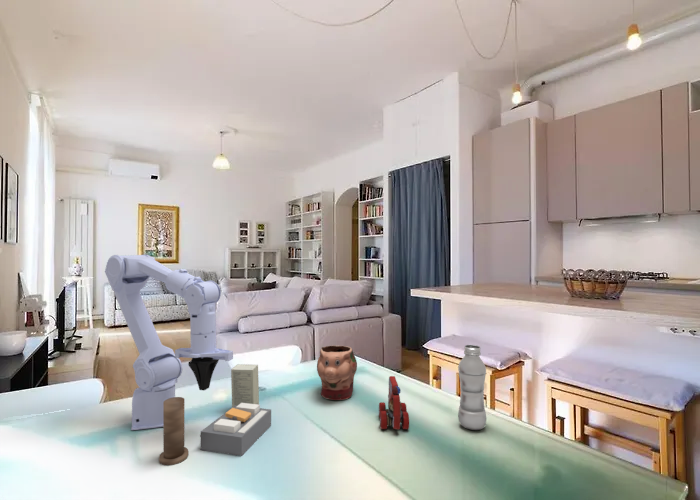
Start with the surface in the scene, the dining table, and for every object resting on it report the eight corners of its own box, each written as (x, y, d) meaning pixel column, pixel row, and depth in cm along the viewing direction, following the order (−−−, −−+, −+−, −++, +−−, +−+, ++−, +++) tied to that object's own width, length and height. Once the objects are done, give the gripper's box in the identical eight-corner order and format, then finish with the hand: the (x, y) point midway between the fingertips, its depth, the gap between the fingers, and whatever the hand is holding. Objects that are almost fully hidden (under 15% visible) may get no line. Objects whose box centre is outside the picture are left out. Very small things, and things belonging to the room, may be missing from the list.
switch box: (200, 449, 81) (200, 425, 81) (235, 420, 95) (235, 399, 95) (241, 456, 79) (241, 430, 79) (271, 425, 92) (271, 403, 92)
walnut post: (156, 467, 75) (156, 407, 75) (162, 452, 80) (162, 397, 80) (186, 463, 76) (186, 404, 76) (190, 448, 82) (190, 394, 82)
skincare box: (259, 408, 102) (259, 364, 102) (253, 415, 98) (253, 369, 98) (237, 407, 103) (237, 363, 103) (230, 414, 98) (230, 368, 98)
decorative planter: (321, 380, 124) (321, 338, 124) (357, 381, 123) (357, 339, 123) (312, 406, 104) (312, 356, 104) (356, 407, 103) (356, 357, 103)
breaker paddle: (224, 419, 86) (225, 413, 86) (231, 413, 89) (232, 407, 89) (243, 425, 85) (244, 418, 85) (250, 419, 88) (251, 412, 88)
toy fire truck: (381, 436, 88) (381, 392, 88) (378, 412, 100) (378, 374, 100) (411, 436, 88) (411, 392, 87) (404, 413, 100) (404, 374, 100)
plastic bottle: (488, 435, 88) (489, 351, 88) (458, 432, 90) (459, 349, 89) (484, 422, 95) (484, 344, 94) (456, 419, 96) (457, 342, 96)
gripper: (165, 334, 87) (166, 392, 87) (220, 337, 83) (221, 397, 83) (185, 328, 94) (186, 382, 94) (237, 330, 90) (238, 386, 90)
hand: (204, 388), depth 89 cm, fingers closed
